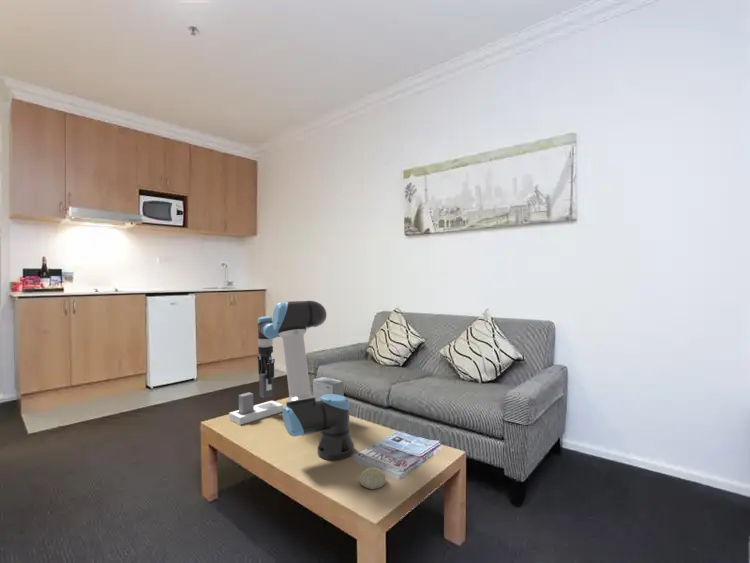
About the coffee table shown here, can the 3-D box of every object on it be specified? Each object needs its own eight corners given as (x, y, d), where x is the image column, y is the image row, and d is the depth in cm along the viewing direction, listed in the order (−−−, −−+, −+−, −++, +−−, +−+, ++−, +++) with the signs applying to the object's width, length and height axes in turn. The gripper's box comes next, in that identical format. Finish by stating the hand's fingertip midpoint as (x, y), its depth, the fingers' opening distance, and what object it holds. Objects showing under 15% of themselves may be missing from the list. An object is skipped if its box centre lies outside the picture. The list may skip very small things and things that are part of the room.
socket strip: (283, 411, 212) (282, 388, 212) (240, 425, 194) (239, 399, 194) (272, 406, 220) (271, 384, 219) (229, 419, 202) (228, 395, 201)
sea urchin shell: (385, 470, 144) (385, 462, 139) (385, 494, 139) (385, 487, 133) (360, 470, 145) (359, 462, 139) (359, 493, 139) (358, 487, 133)
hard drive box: (344, 420, 198) (344, 381, 197) (333, 425, 192) (332, 384, 191) (324, 413, 208) (323, 376, 207) (312, 418, 202) (312, 379, 201)
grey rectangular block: (273, 395, 212) (273, 373, 212) (263, 398, 208) (263, 375, 207) (269, 393, 215) (269, 371, 214) (259, 396, 210) (259, 374, 210)
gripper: (280, 346, 207) (281, 390, 208) (263, 342, 219) (264, 384, 220) (268, 349, 202) (269, 394, 202) (250, 344, 213) (251, 387, 214)
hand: (266, 389), depth 211 cm, fingers closed on grey rectangular block, 4 cm apart
